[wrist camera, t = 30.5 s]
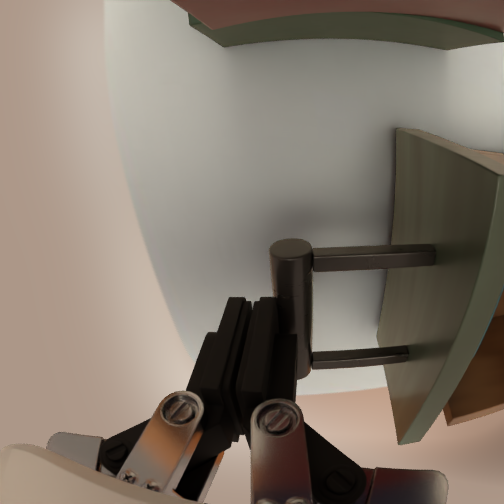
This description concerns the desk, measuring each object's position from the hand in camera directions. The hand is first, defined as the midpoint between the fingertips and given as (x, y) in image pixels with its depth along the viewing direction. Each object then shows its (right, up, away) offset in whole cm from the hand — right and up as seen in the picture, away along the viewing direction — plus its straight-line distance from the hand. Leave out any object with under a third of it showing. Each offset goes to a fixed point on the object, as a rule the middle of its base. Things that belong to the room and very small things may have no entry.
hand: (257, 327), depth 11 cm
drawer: (+10, +3, +3) cm, 11 cm away
